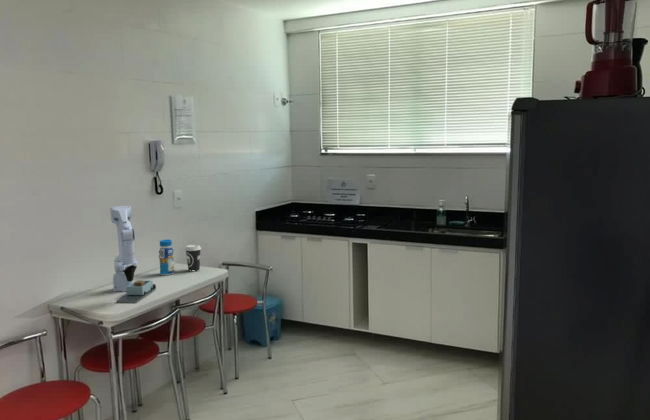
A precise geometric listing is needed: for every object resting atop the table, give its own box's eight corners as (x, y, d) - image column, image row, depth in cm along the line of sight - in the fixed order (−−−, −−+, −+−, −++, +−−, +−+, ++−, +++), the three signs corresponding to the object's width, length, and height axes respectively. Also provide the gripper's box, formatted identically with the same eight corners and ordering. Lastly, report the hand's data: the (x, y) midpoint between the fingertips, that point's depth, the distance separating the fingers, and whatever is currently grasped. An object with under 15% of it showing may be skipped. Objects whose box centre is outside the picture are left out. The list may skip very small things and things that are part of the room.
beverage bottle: (158, 273, 305) (156, 240, 302) (173, 271, 309) (171, 238, 306) (161, 276, 297) (159, 242, 295) (176, 274, 301) (174, 240, 299)
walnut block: (134, 291, 261) (133, 282, 260) (137, 289, 265) (137, 280, 264) (142, 291, 260) (141, 282, 260) (145, 289, 264) (144, 280, 264)
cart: (125, 294, 257) (124, 286, 256) (136, 287, 269) (135, 280, 269) (144, 294, 256) (143, 286, 256) (154, 288, 268) (153, 280, 268)
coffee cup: (198, 272, 305) (197, 247, 303) (183, 272, 307) (181, 247, 305) (204, 268, 315) (203, 244, 313) (190, 268, 316) (188, 244, 314)
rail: (116, 302, 248) (116, 296, 248) (137, 289, 271) (137, 284, 270) (136, 303, 248) (136, 296, 247) (155, 289, 270) (155, 284, 269)
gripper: (129, 257, 242) (131, 285, 244) (142, 250, 257) (144, 277, 258) (115, 257, 243) (117, 285, 245) (129, 250, 257) (131, 277, 259)
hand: (130, 281), depth 252 cm, fingers closed
